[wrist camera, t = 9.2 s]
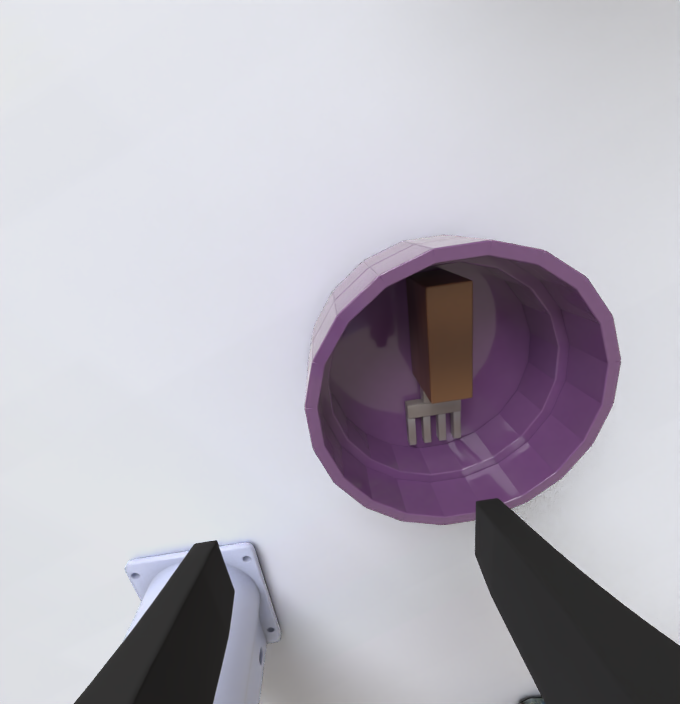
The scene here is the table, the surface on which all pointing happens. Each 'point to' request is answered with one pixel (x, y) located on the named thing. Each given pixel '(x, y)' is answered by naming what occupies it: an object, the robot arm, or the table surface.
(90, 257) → the table surface
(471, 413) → the bowl
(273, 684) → the table surface
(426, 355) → the fork with wooden handle
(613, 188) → the table surface
